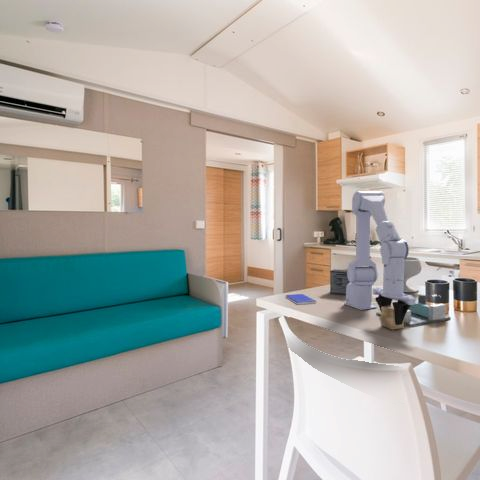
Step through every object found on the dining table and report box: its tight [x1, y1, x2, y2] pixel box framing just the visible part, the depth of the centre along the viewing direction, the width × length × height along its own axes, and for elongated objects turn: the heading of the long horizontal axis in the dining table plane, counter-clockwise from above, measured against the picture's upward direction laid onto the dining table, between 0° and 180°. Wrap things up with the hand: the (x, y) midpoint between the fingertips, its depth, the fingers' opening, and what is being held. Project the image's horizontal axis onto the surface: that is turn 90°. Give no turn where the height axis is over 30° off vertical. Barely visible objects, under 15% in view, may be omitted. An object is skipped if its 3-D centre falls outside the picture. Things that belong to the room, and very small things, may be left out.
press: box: [376, 294, 452, 328], centre depth 112 cm, size 14×18×5 cm
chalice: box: [403, 256, 422, 293], centre depth 152 cm, size 14×14×15 cm
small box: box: [329, 268, 350, 296], centre depth 147 cm, size 11×6×10 cm, turn 58°
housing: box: [380, 304, 404, 330], centre depth 102 cm, size 4×4×6 cm
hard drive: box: [285, 293, 317, 306], centre depth 136 cm, size 2×8×12 cm
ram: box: [408, 294, 429, 317], centre depth 114 cm, size 10×4×6 cm, turn 22°
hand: (392, 321), depth 102 cm, fingers closed on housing, 4 cm apart
